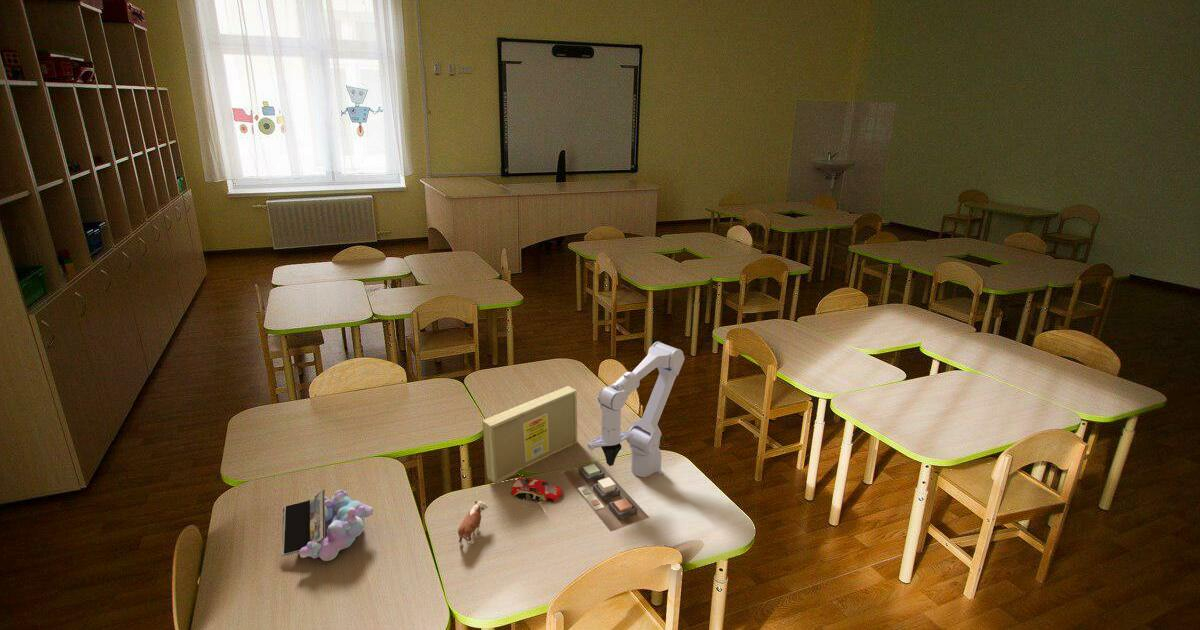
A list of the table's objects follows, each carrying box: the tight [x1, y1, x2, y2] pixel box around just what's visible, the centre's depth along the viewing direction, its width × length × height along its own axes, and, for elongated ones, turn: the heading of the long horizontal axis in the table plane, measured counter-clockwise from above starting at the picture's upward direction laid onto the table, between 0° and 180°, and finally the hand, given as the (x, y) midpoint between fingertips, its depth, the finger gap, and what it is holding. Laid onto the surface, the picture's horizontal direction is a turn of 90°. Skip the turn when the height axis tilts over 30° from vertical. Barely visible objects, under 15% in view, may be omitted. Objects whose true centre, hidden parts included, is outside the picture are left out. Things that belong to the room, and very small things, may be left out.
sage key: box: [583, 463, 600, 477], centre depth 204 cm, size 4×4×2 cm
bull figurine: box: [457, 500, 489, 547], centre depth 179 cm, size 4×13×8 cm, turn 161°
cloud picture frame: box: [280, 487, 374, 562], centre depth 174 cm, size 20×22×18 cm
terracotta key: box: [614, 498, 632, 513], centre depth 188 cm, size 4×4×2 cm
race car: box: [510, 477, 564, 503], centre depth 196 cm, size 16×7×5 cm, turn 74°
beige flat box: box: [482, 385, 579, 485], centre depth 210 cm, size 35×5×22 cm, turn 132°
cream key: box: [598, 477, 615, 494], centre depth 196 cm, size 4×4×2 cm
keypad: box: [562, 461, 650, 532], centre depth 196 cm, size 13×32×3 cm, turn 28°
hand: (610, 464), depth 195 cm, fingers closed
